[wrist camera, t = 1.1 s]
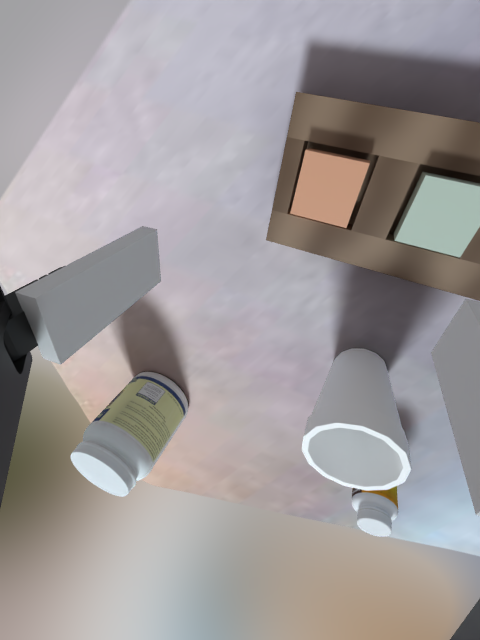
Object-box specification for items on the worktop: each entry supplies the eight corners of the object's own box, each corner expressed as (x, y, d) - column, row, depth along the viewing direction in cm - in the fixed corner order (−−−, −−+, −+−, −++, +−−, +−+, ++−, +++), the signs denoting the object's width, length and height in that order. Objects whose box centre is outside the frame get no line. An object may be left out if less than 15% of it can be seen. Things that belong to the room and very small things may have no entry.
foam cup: (351, 324, 35) (340, 406, 25) (419, 366, 34) (437, 467, 24) (307, 369, 41) (285, 451, 31) (366, 406, 40) (362, 500, 30)
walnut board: (701, 161, 19) (745, 167, 17) (558, 310, 27) (576, 328, 24) (303, 94, 25) (296, 91, 23) (273, 231, 32) (266, 240, 30)
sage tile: (493, 186, 22) (502, 191, 20) (454, 249, 25) (460, 257, 23) (422, 171, 23) (425, 175, 22) (393, 233, 26) (394, 240, 25)
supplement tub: (136, 358, 54) (58, 434, 41) (195, 387, 52) (134, 476, 39) (135, 398, 62) (70, 474, 48) (187, 425, 60) (133, 510, 47)
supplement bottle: (359, 438, 44) (355, 508, 36) (400, 451, 43) (405, 527, 35) (351, 460, 47) (346, 528, 39) (389, 472, 46) (391, 546, 38)
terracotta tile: (370, 160, 24) (369, 163, 22) (348, 221, 27) (346, 228, 25) (310, 148, 25) (305, 150, 23) (295, 208, 28) (290, 213, 26)
